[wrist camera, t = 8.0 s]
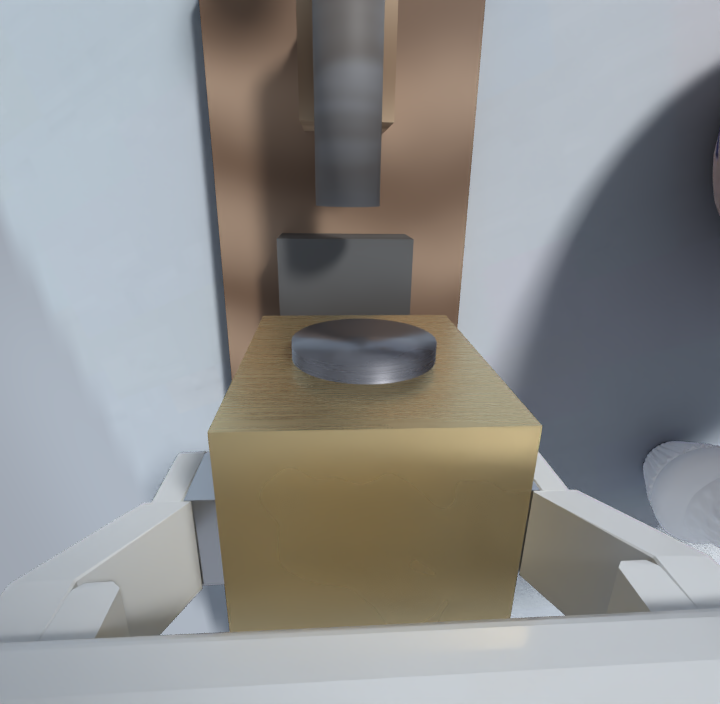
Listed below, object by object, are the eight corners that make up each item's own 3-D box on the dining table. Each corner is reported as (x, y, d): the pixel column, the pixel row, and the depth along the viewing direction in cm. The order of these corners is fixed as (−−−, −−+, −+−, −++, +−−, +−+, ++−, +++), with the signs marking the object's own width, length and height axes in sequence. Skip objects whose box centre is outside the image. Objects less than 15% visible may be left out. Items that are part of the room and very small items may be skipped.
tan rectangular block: (262, 302, 10) (205, 409, 5) (446, 301, 10) (545, 403, 6) (276, 547, 12) (245, 773, 8) (427, 541, 13) (486, 757, 8)
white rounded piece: (660, 405, 29) (757, 470, 22) (732, 441, 30) (845, 513, 24) (601, 482, 31) (675, 564, 24) (672, 514, 32) (761, 600, 25)
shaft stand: (205, -19, 20) (136, -132, 13) (476, -9, 21) (553, -110, 14) (248, 513, 30) (222, 618, 22) (435, 507, 30) (468, 608, 23)
